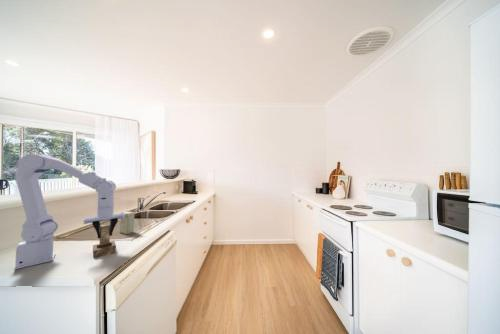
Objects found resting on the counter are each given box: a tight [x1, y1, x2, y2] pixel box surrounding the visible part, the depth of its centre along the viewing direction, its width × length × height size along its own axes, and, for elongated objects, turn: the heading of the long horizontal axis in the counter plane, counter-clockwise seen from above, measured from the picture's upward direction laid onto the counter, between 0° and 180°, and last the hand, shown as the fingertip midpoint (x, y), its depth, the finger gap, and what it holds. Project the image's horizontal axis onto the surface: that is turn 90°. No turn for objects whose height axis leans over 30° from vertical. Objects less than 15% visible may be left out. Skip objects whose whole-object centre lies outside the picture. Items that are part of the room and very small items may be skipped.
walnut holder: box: [92, 240, 117, 258], centre depth 79 cm, size 8×8×3 cm
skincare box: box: [119, 210, 135, 235], centre depth 105 cm, size 6×4×12 cm
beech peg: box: [99, 224, 111, 245], centre depth 79 cm, size 4×4×8 cm
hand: (104, 236), depth 79 cm, fingers closed on beech peg, 4 cm apart
